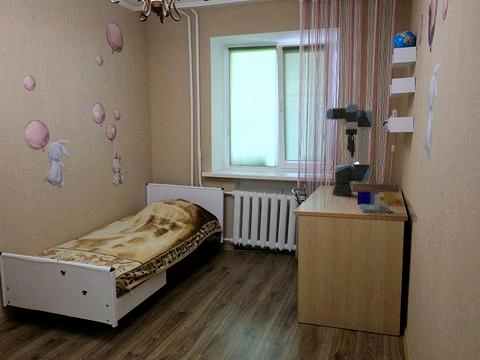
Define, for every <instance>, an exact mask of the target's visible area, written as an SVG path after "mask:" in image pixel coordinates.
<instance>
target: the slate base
mask: <svg viewBox="0 0 480 360" xmlns="http://www.w3.org/2000/svg"><path fill="white" fill-rule="evenodd" d="M359 207H360V209H361V210H362V212H363V213H387V214H389V213H391V209H390V208H389V206H388V205H385V204H383V203H382V204H381V203H380V210H374V209H373V207H372V206H371V205H370V204H359Z"/></svg>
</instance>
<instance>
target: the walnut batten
mask: <svg viewBox="0 0 480 360" xmlns="http://www.w3.org/2000/svg"><path fill="white" fill-rule="evenodd" d="M351 188H352V192H353V193H358V192H378V193H383V192H396V193H399V192H400V184H399V183H368V182H353V183H352V184H351Z"/></svg>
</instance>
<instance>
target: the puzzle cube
mask: <svg viewBox="0 0 480 360" xmlns="http://www.w3.org/2000/svg"><path fill="white" fill-rule="evenodd" d="M370 196H371V192H357V199H356V200H357V205H360V204H370Z"/></svg>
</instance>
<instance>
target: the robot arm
mask: <svg viewBox="0 0 480 360" xmlns="http://www.w3.org/2000/svg"><path fill="white" fill-rule="evenodd" d="M358 107H359V106H358V104H354V103H353V104H346V105H345V107H341V108H339V107H331V108H327V109H326V111H325V114H326V115H325V116H326V119H327V120H334V121H337V122H339V123H340V124H342V125H344V127H345V133H344V134H345V136H347V146H346V149H347V155H346V156H347V158H346V159H347V161H349V164H348V163H346V164H339V165H336V166H335V170H334V174H335V175H334V187H333V189H332V195H333V196H340V197H341V196H342V197H348V196H349V197H350V196H353V195H354V194H353V193H354V192H353V191H352V184H351V182H353V183H368V182H369V181H370V180H371V176H372V171H373V168H372V166H370V165H371V164H370V162H369V161H368V160H369V144H370V143H369V141H370V140H369V139H370V138H369V137H370V130H371V129H372V127H373V126H374V123H375V122H374V114H373V111H372V110H370V109H360V108H358ZM355 136H356V137H355ZM355 138H356V140H355ZM355 141H356V142H355ZM355 145H356V146H355ZM355 152H356V154H355ZM350 163H352V164H353V165H351V164H350Z"/></svg>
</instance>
